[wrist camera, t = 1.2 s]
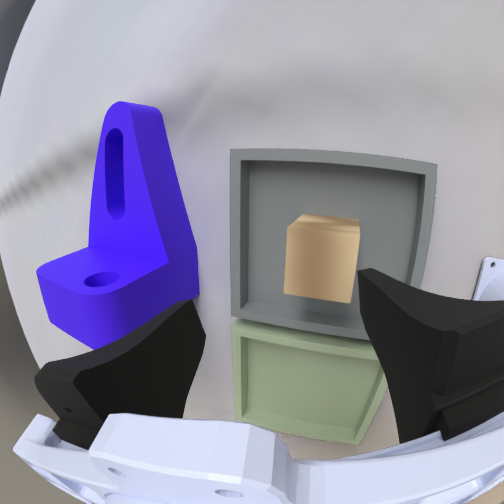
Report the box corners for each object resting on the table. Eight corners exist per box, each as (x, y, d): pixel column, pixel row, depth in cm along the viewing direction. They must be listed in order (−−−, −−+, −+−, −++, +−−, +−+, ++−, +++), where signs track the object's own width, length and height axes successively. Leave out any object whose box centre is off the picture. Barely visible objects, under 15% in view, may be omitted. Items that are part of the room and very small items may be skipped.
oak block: (358, 219, 18) (360, 235, 14) (352, 273, 19) (350, 303, 15) (303, 213, 20) (287, 227, 15) (300, 266, 21) (283, 293, 16)
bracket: (200, 293, 26) (114, 360, 16) (122, 274, 30) (41, 316, 19) (196, 97, 21) (86, 67, 10) (113, 116, 24) (18, 114, 14)
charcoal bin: (427, 164, 16) (437, 164, 14) (400, 327, 20) (403, 343, 18) (243, 150, 21) (230, 149, 18) (242, 302, 25) (231, 316, 22)
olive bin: (397, 336, 20) (400, 354, 18) (361, 428, 24) (358, 445, 22) (242, 312, 25) (231, 326, 23) (243, 404, 29) (234, 419, 27)
